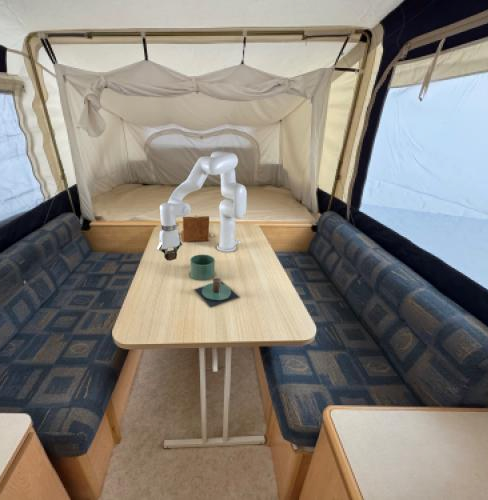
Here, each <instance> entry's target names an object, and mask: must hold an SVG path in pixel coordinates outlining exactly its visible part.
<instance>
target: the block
mask: <svg viewBox="0 0 488 500" xmlns="http://www.w3.org/2000/svg"><path fill="white" fill-rule="evenodd" d="M173 250H174V249H171V250H167V253H168V259H169V260H168V262H171V261H175V260H176V259H177V258H176V257H177V256H176V255H175V252H174V251H173Z"/></svg>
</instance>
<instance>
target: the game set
mask: <svg viewBox="0 0 488 500" xmlns="http://www.w3.org/2000/svg"><path fill="white" fill-rule="evenodd" d="M209 233H210V216H209V215H204V216H202V215H200V216H198V215H197V214H196V215H194V216H183V217H182V231H181V234H182V242H185V243H186V242H188V243H189V242H209V237H211V238H213V237H215V234H213V233H211V234H209ZM178 234H179V235H180V233H179V232H178Z"/></svg>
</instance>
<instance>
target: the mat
mask: <svg viewBox="0 0 488 500" xmlns="http://www.w3.org/2000/svg"><path fill="white" fill-rule="evenodd" d="M221 284H224V285H226V284H225V283H224V282H223V281H221ZM203 287H204V286H201V287H198V288H195V289H194V291H195V292H196V293H197V294H198V295H199V296H200V297H201V299H203V301H205V303H206V304H207V305H208V306H209V307H210V308H212V307H215V306H218V305H220V304H223V303H226V302H229V301H232V300H235V299H239V298H240V296H239V295H237V294H236V293H235V292H234V291H233V290H232V289H231V288H230V290H231V295H230V296H229V297H228V298H226V299H224V300H210V299H208V298H206V297H205V296H204V295H203V294H202V289H203Z"/></svg>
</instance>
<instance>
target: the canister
mask: <svg viewBox="0 0 488 500" xmlns="http://www.w3.org/2000/svg"><path fill="white" fill-rule="evenodd" d="M189 267H190V268H189V269H190V271H189V272H190V277H191V278H192V279H194V280H196V281H208V280H211V279H213V278H214V277H215V273H216V272H215V271H216V260H215V258H214V256H212V255H209V254H197V255H194V256H192V257H191V258H190V259H189Z"/></svg>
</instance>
